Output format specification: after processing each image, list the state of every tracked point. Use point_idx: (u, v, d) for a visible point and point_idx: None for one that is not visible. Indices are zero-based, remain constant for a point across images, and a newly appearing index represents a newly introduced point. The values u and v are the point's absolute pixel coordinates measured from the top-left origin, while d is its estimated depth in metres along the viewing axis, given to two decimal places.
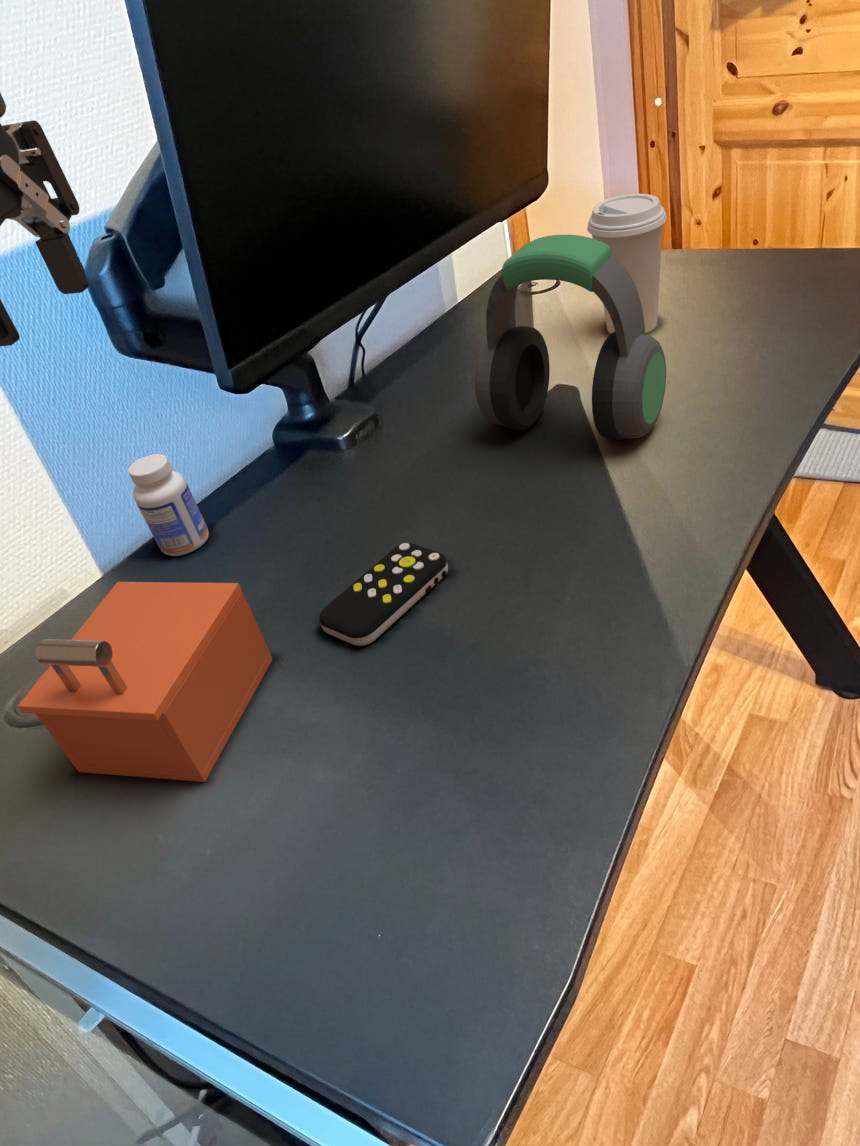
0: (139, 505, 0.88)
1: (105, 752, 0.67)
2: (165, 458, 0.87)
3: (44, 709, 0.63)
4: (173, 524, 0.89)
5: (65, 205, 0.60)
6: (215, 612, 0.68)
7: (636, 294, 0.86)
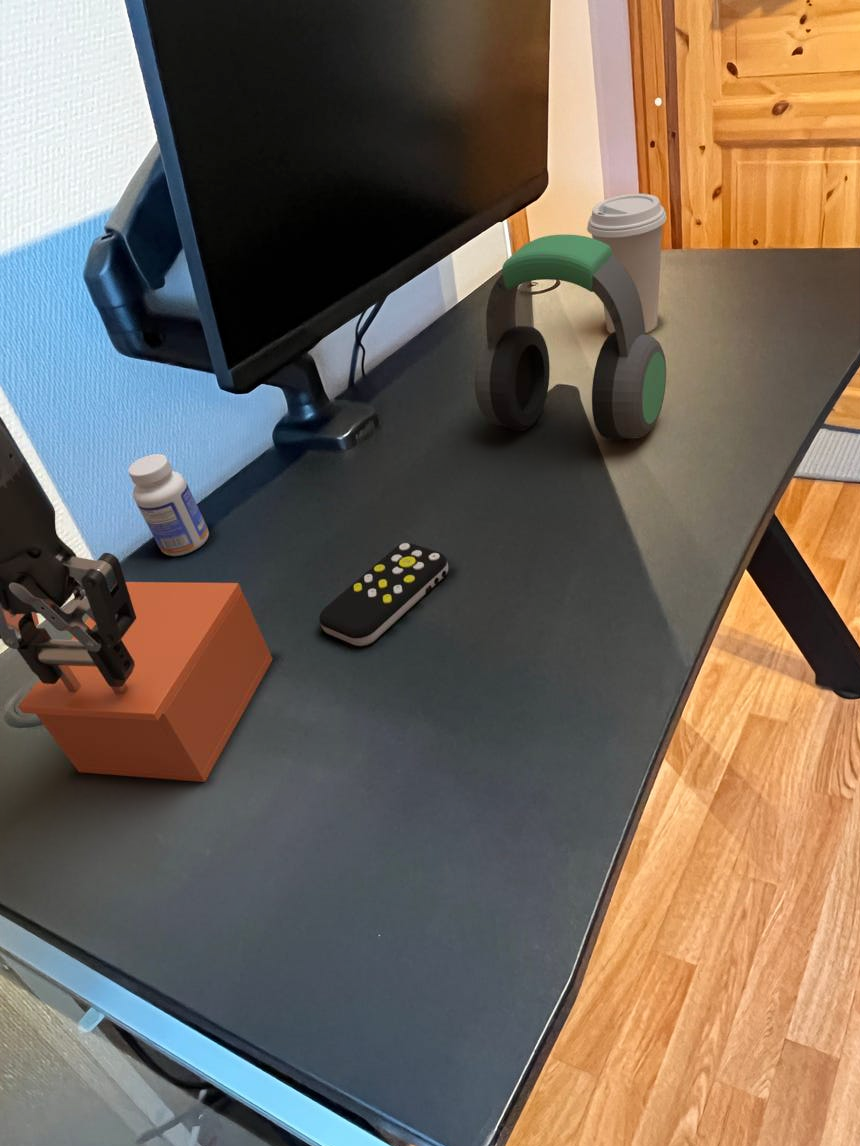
0: (139, 505, 0.88)
1: (105, 752, 0.67)
2: (165, 458, 0.87)
3: (44, 709, 0.63)
4: (173, 524, 0.89)
5: None
6: (215, 612, 0.68)
7: (636, 294, 0.86)
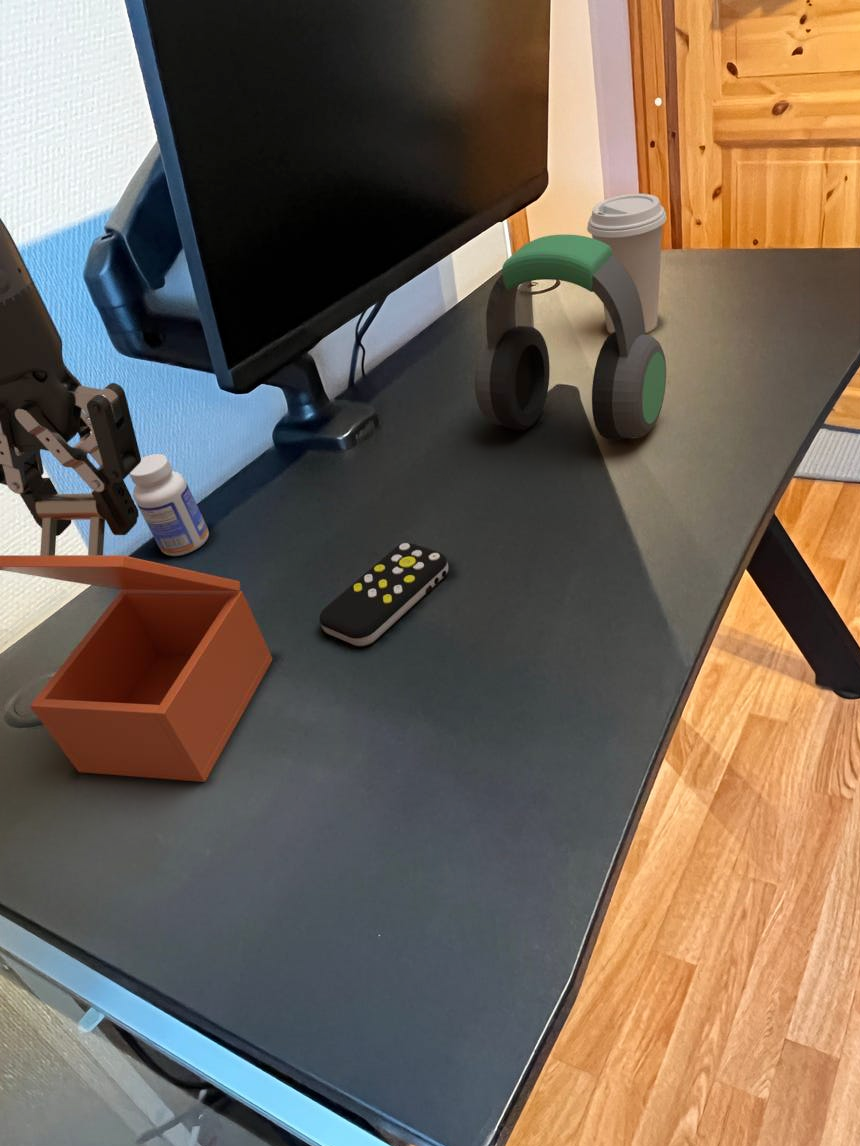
0: (139, 505, 0.88)
1: (105, 752, 0.67)
2: (165, 458, 0.87)
3: (6, 559, 0.60)
4: (173, 524, 0.89)
5: None
6: None
7: (636, 294, 0.86)
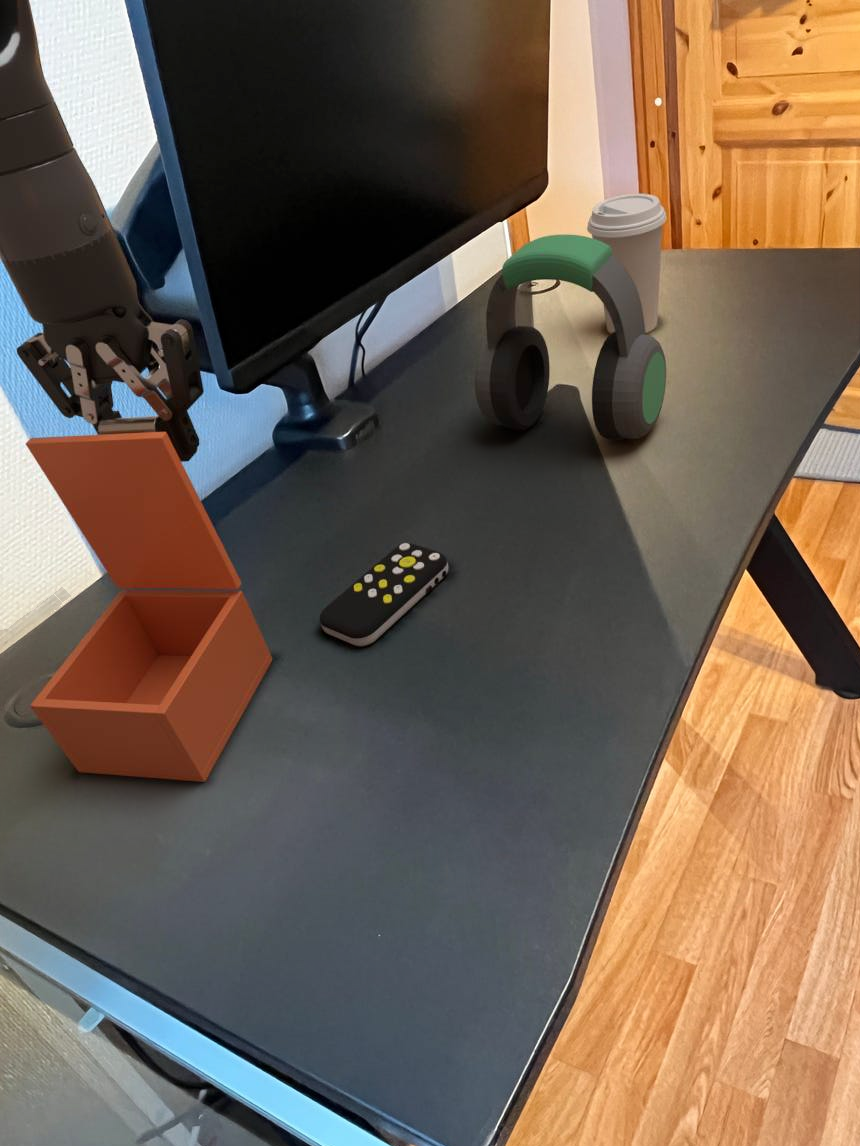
0: None
1: (105, 752, 0.67)
2: None
3: (53, 438, 0.63)
4: None
5: None
6: None
7: (636, 294, 0.86)
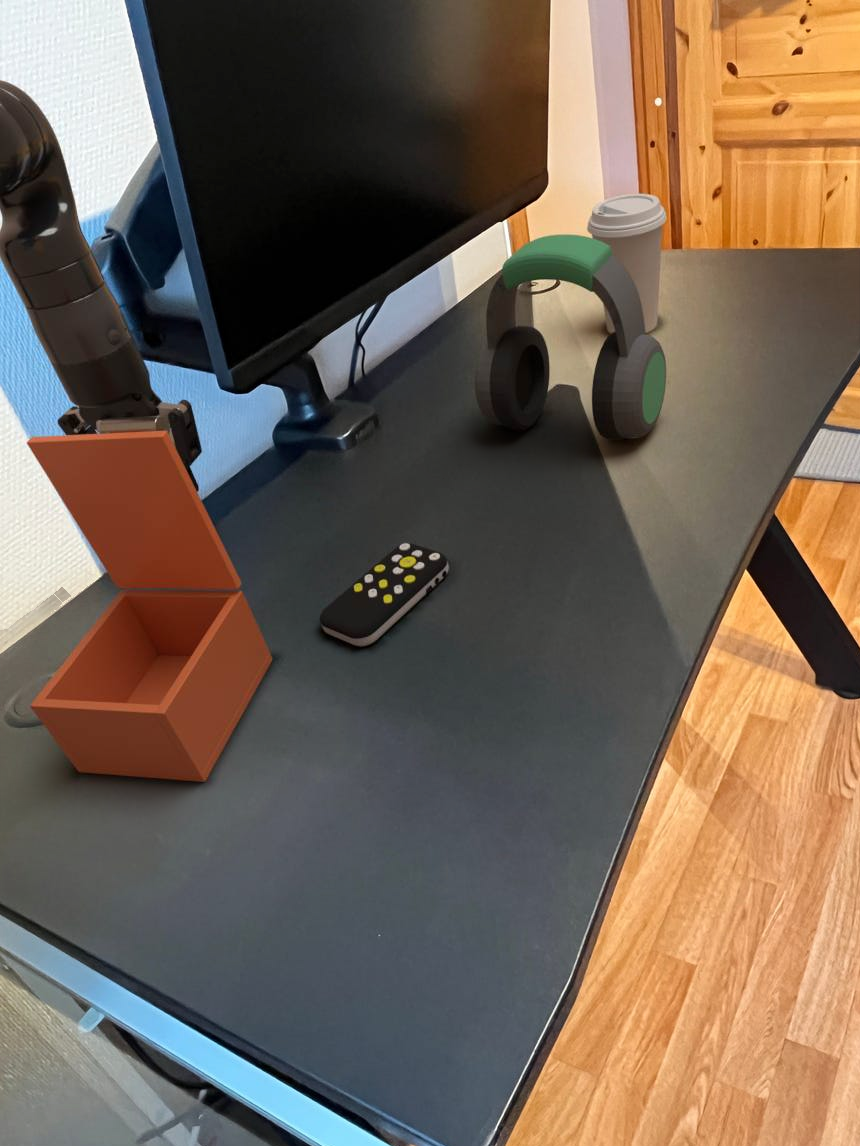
0: None
1: (105, 752, 0.67)
2: None
3: (54, 437, 0.64)
4: None
5: None
6: None
7: (636, 294, 0.86)
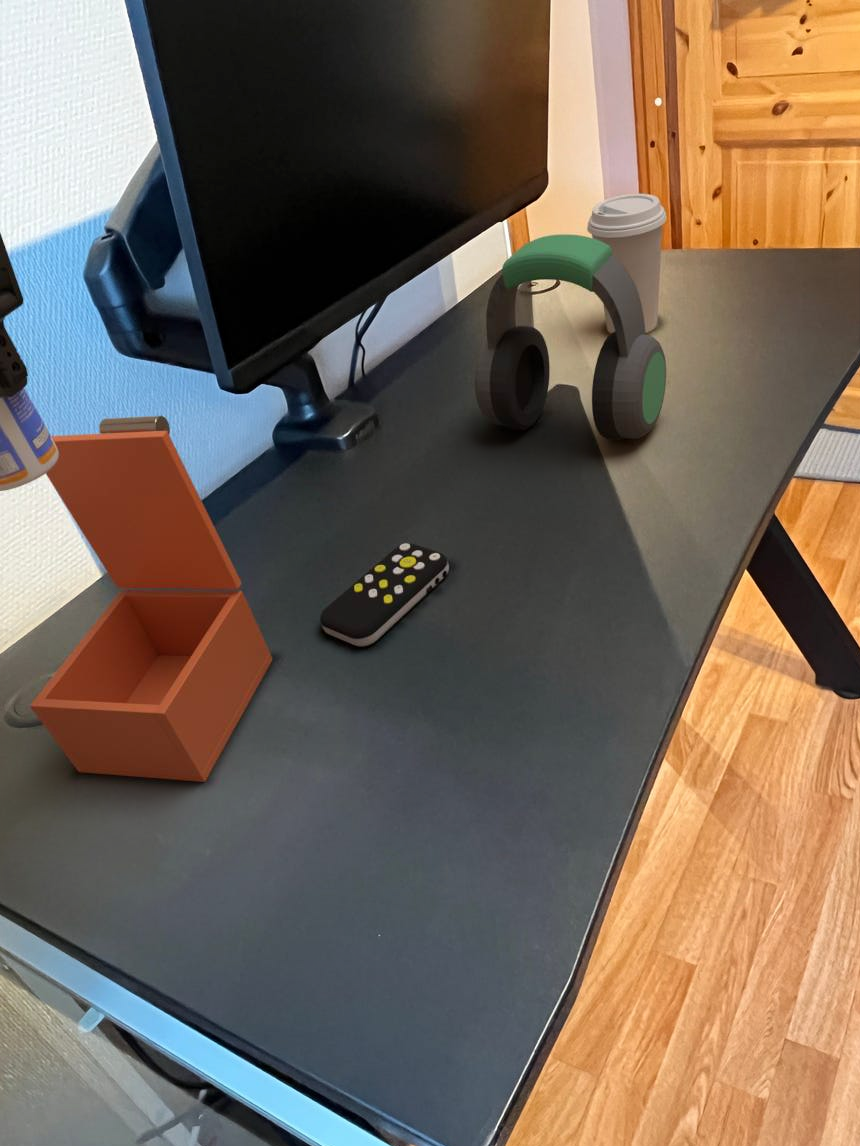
0: None
1: (105, 752, 0.67)
2: None
3: (54, 437, 0.64)
4: None
5: None
6: None
7: (636, 294, 0.86)
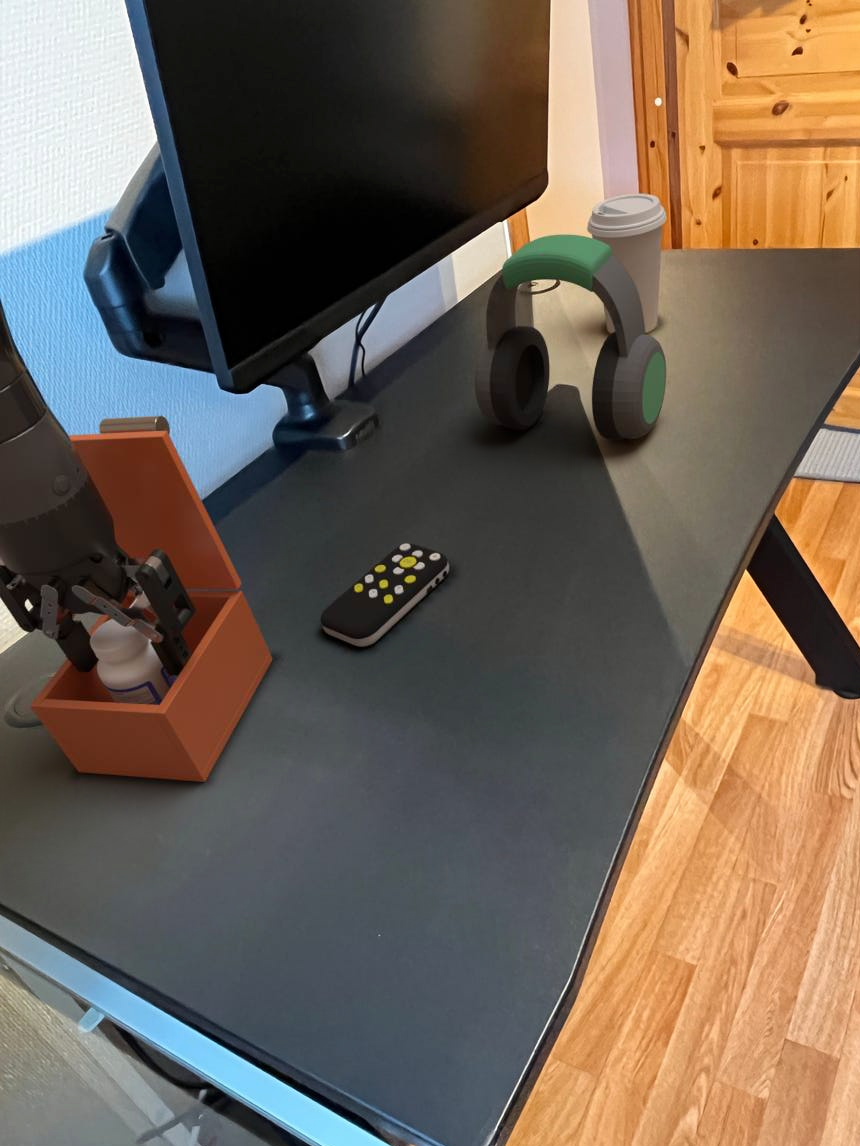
0: (105, 684, 0.66)
1: (105, 752, 0.67)
2: None
3: None
4: None
5: None
6: None
7: (636, 294, 0.86)
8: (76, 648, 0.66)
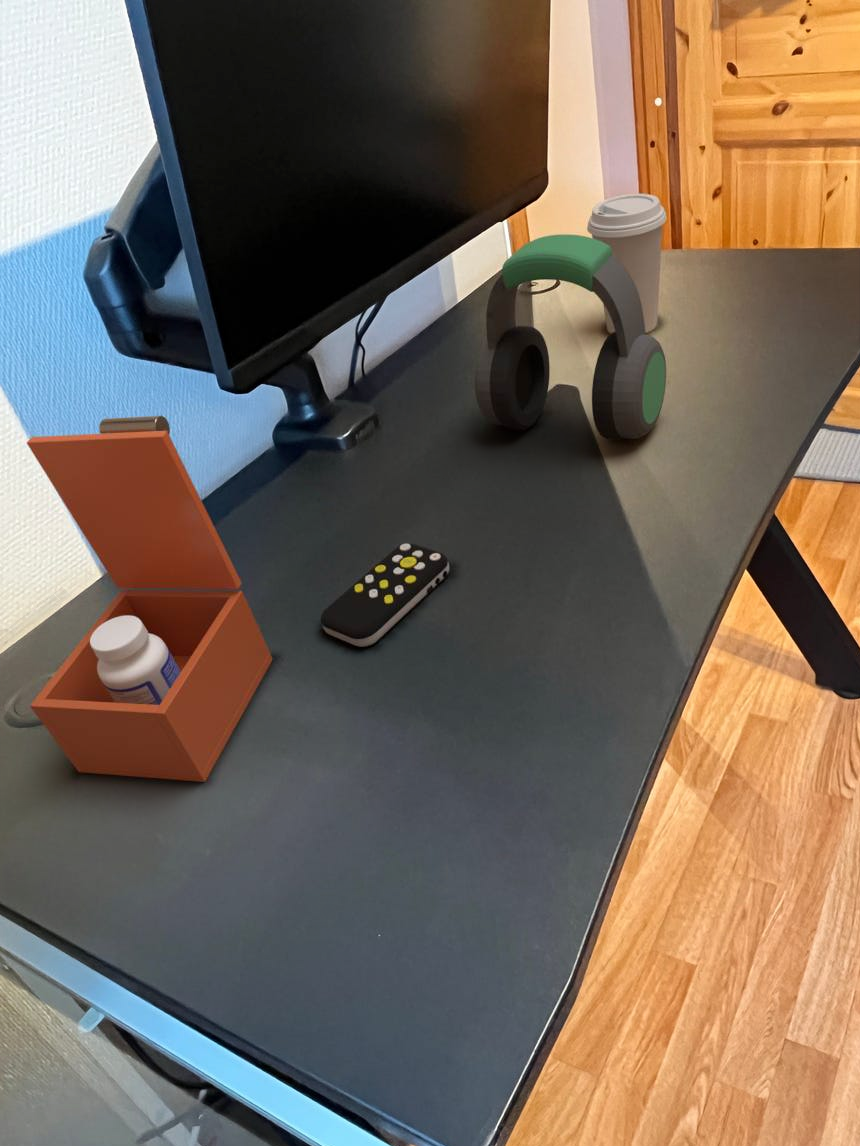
0: (105, 684, 0.66)
1: (105, 752, 0.67)
2: (139, 623, 0.65)
3: (54, 437, 0.64)
4: None
5: None
6: None
7: (636, 294, 0.86)
8: None
